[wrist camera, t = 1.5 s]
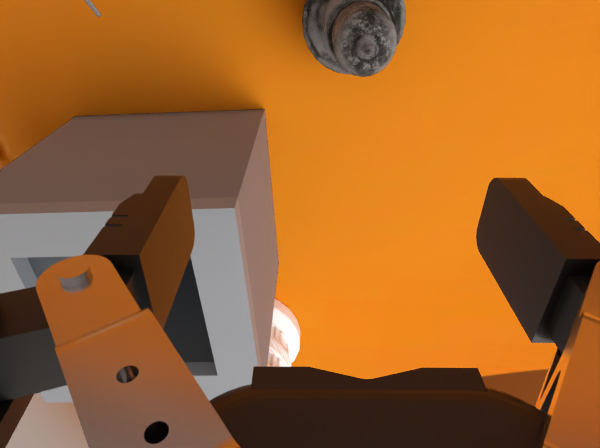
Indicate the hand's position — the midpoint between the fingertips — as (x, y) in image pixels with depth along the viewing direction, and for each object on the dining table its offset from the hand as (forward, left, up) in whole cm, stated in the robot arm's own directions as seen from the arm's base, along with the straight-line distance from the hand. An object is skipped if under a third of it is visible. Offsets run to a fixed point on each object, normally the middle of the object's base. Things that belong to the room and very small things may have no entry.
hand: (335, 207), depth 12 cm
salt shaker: (-2, +2, -21) cm, 21 cm away
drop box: (+11, -11, -21) cm, 26 cm away
